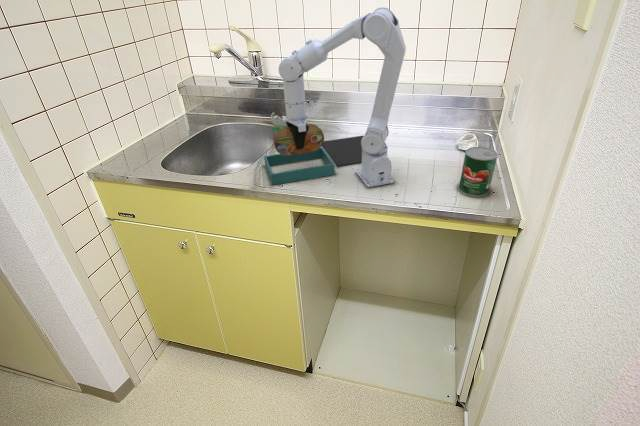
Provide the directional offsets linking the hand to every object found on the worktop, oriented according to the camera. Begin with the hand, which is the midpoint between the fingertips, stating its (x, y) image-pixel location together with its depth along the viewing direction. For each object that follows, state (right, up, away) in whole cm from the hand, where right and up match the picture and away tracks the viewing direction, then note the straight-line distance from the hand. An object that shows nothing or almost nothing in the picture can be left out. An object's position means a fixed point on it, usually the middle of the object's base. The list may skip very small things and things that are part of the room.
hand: (298, 146), depth 114 cm
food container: (-6, +5, +22) cm, 23 cm away
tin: (0, -2, +1) cm, 2 cm away
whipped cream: (+56, +1, +12) cm, 57 cm away
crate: (0, -7, +4) cm, 8 cm away
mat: (+17, +1, +15) cm, 22 cm away
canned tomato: (+49, -14, -10) cm, 52 cm away
